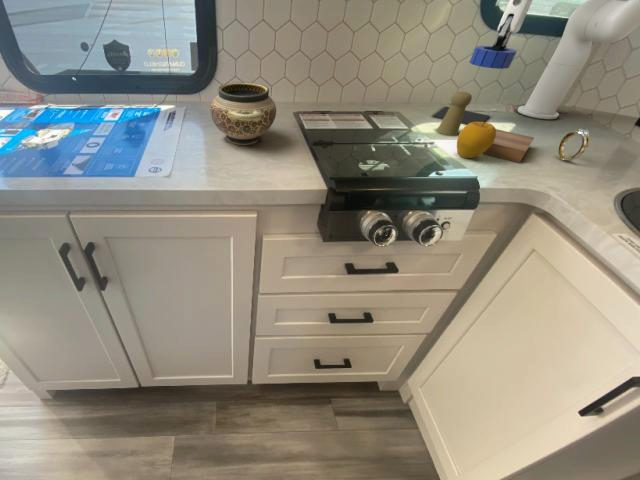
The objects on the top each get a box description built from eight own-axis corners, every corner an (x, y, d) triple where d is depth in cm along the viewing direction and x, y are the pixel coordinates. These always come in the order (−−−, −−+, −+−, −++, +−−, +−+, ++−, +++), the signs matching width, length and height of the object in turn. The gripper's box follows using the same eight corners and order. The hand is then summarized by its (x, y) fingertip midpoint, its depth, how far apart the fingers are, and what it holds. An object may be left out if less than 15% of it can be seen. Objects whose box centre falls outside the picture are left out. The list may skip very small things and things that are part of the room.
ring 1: (474, 59, 112) (480, 44, 110) (511, 64, 108) (519, 49, 105) (466, 64, 106) (472, 48, 103) (505, 70, 101) (513, 53, 99)
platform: (476, 136, 107) (481, 125, 105) (527, 148, 101) (534, 137, 98) (464, 148, 99) (469, 137, 97) (519, 162, 93) (526, 151, 91)
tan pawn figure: (452, 137, 105) (470, 96, 98) (433, 131, 109) (449, 91, 101) (460, 132, 108) (478, 93, 101) (442, 127, 111) (458, 88, 104)
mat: (445, 107, 128) (445, 106, 127) (489, 116, 121) (489, 115, 121) (432, 116, 119) (432, 115, 119) (478, 127, 113) (479, 126, 112)
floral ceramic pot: (220, 133, 109) (206, 80, 99) (275, 119, 107) (267, 63, 97) (219, 166, 92) (202, 106, 82) (284, 150, 90) (275, 86, 79)
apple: (471, 165, 90) (490, 130, 84) (443, 154, 95) (458, 120, 89) (490, 159, 94) (508, 124, 87) (461, 148, 99) (477, 115, 92)
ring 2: (577, 165, 92) (600, 134, 87) (565, 165, 92) (587, 133, 87) (560, 155, 97) (581, 124, 92) (549, 154, 97) (569, 124, 92)
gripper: (540, -17, 90) (501, 66, 103) (547, -18, 99) (510, 59, 112) (508, -19, 93) (474, 62, 106) (518, -19, 102) (485, 55, 115)
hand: (493, 60), depth 109 cm, fingers closed on ring 1, 2 cm apart
